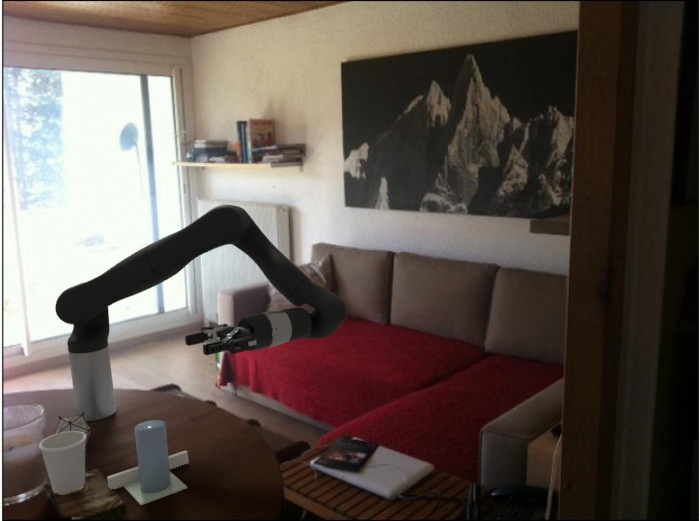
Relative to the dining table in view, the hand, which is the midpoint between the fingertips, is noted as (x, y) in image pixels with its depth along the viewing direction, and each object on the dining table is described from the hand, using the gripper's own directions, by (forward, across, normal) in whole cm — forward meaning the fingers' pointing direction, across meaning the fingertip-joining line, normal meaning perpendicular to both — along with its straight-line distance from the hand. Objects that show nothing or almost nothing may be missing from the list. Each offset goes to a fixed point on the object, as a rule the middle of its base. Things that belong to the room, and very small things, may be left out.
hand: (194, 345), depth 130 cm
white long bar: (+10, -2, +25) cm, 27 cm away
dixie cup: (+24, -8, +26) cm, 36 cm away
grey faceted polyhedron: (+18, -26, +26) cm, 41 cm away
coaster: (+11, +3, +25) cm, 28 cm away
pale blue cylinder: (+11, +3, +25) cm, 27 cm away
